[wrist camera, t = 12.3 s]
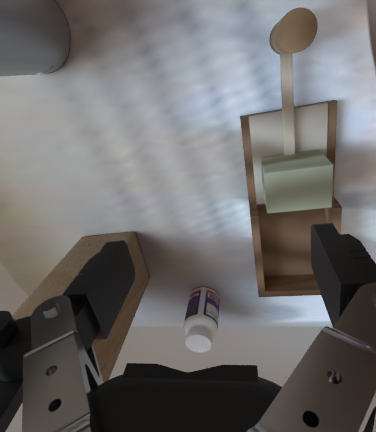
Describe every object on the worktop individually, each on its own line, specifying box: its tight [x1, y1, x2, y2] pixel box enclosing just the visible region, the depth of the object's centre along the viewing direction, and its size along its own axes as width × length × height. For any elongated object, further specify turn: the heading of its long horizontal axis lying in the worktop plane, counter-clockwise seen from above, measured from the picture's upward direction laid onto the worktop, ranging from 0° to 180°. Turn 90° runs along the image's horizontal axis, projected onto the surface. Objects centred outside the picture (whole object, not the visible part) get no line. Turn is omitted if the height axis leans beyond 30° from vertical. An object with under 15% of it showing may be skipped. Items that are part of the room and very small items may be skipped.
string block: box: [261, 8, 333, 213], centre depth 31 cm, size 19×7×7 cm, turn 11°
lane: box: [240, 100, 342, 297], centre depth 39 cm, size 26×11×4 cm, turn 11°
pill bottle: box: [184, 287, 219, 352], centre depth 47 cm, size 5×5×10 cm
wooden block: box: [12, 232, 150, 382], centre depth 41 cm, size 10×10×20 cm
